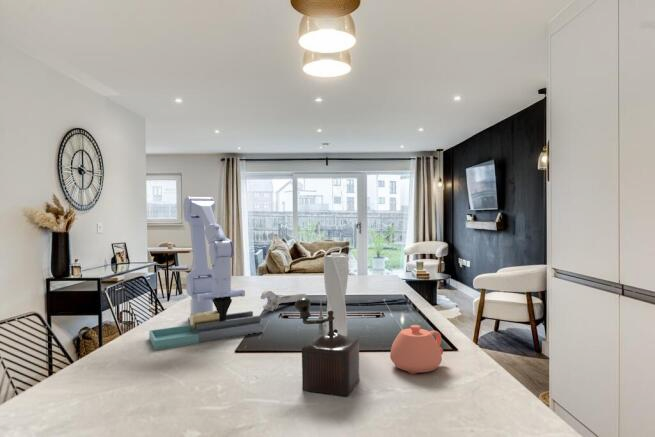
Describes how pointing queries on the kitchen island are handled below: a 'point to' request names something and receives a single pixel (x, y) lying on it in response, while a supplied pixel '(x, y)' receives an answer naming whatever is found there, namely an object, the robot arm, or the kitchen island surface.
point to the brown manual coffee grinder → (328, 358)
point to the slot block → (229, 327)
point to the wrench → (279, 299)
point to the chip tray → (172, 337)
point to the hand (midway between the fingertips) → (222, 321)
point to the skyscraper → (335, 291)
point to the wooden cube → (212, 316)
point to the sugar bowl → (416, 350)
